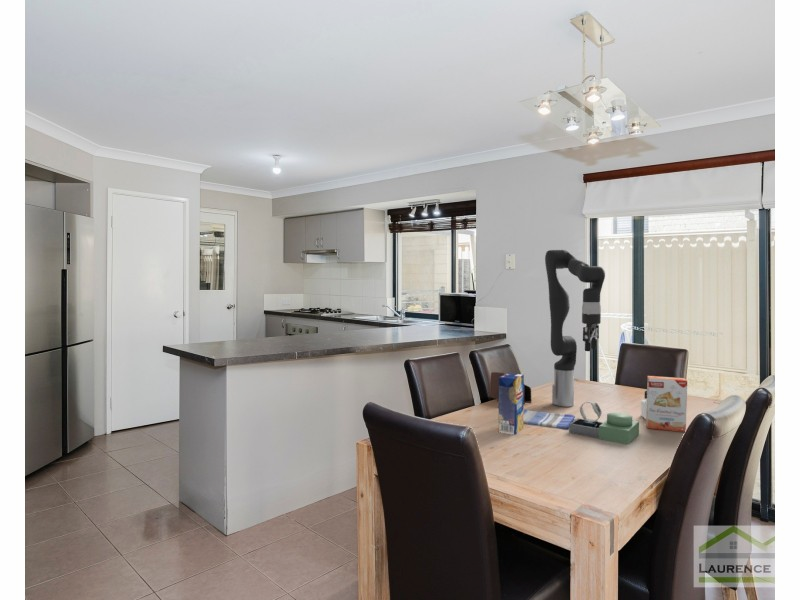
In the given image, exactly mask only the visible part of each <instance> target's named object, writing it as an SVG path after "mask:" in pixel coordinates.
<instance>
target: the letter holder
mask: <svg viewBox="0 0 800 600" xmlns="http://www.w3.org/2000/svg"><path fill="white" fill-rule="evenodd" d="M504 374H506V373H504V372H496V371H495V372H494V371H493V372H491V373H490V386H489V387H490V388H489V389H490V390H489V398H491V399H494V400H497V399H499V377H500V376H502V375H504ZM525 403H529V404H532V388H531V387H530V386H528V385H527V384H524V405H526V404H525Z"/></svg>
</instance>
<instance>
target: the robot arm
mask: <svg viewBox="0 0 800 600" xmlns="http://www.w3.org/2000/svg"><path fill="white" fill-rule="evenodd" d="M544 261H545V262H544V263H545V270H546V276H547V283H548V300H549V312H550V350H551V352H552V354H553V355H555V356H557V357H561V358H560V359H559V360H558V361H556V362H555V363H554V365H553V369H554V370H553V371H554V373H553V384H552V397H551V398H552V399H551V400H552V402H551V403H552V405H555V406H558V407H566V408H567V407H573V406H575V366H576V364H577V351H578V350H577V349H578V348H577V341H576V339H575V337H573V336H572V335H563V328H564V324H565V323H564V322H565V321H566V319H567V317H568V314H569V312H570V305H571V304H570V295H569V293H568V291H567V289H566V288H565V286H563V284H562V283H561V281H560V278H559V277H558V273H557V270H562V269H568V271H569V273H570V274H571V275H573V276H575V277H577V278H578V279H579V281H580V282H581V283H585V284H586V283H592V285H591V286H590V287H588V288H584V289H583V291H582V307H581V323H582V324H583V325H585V326H583V327H582V342H584V351H585V352H591V350H596V349H597V348H598V339H600V325H599V324H601V320H602V319H601V316H602V314H601V311H602V308H601V293H602V289H603V284H604V282H605V278H606V271H605V270H604V269H605V268H603V267H602V266H599V265H598V266H597V265H595V266H594V265H593V266H592V265H589V264H588V262H584V261H582V260H580V259H578V258H577V257H575V256H573V254H572V253H571V252H569V251H567V250H566V249H550V250H547V251H546V253H545V257H544Z"/></svg>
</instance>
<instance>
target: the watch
mask: <svg viewBox="0 0 800 600" xmlns="http://www.w3.org/2000/svg"><path fill="white" fill-rule="evenodd" d="M585 404H591V408H592V410H593V412H594V413H595V414H596V416H597V418H596V419H590V418H587V416H586V414H585V412H584V408H583V406H584V405H585ZM579 412H580V415H581V418H582V419H585V421H584V422H583V426H588V427H594V428H597V424H598V422H599V421H598V420H599V419H600V418H601V416H602V409H601V407H600V405H599V404H598V403H597V402H595V401H592V400H587V401H584V402H583V403H581V405H580V407H579Z"/></svg>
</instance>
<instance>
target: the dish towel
mask: <svg viewBox="0 0 800 600" xmlns="http://www.w3.org/2000/svg"><path fill="white" fill-rule="evenodd" d="M575 417H576V416H575V415H573V414H567V413H558V412H557V413H549V412H545V411H536V410H528V409H526V408H523V424H524V423H526V425H531V424H532V426H540V427H548V428H555V429H561V430H562V429H563V430H569V424H570V423H571V422H573V421H574V420H576V419H577V418H576V419H575Z"/></svg>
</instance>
